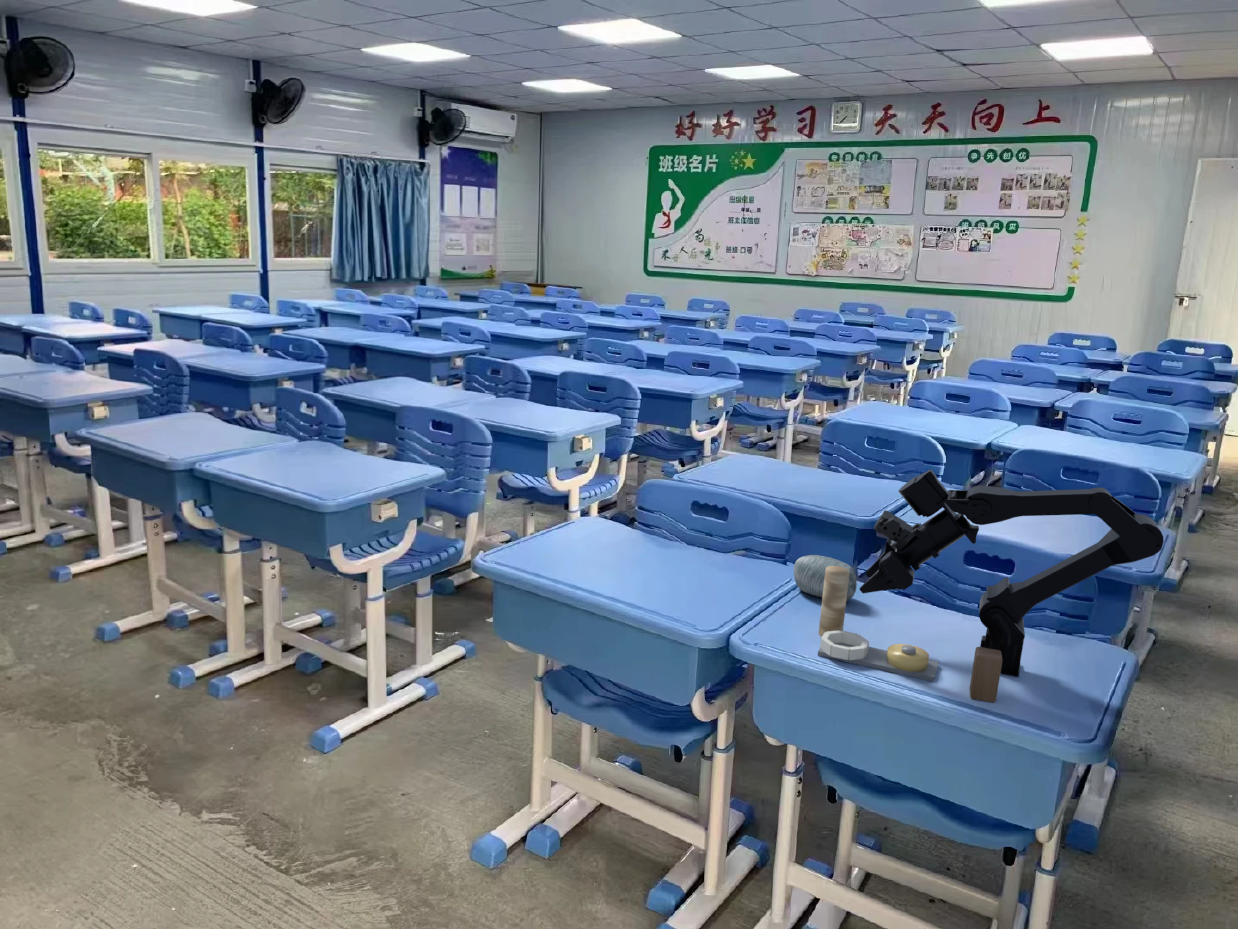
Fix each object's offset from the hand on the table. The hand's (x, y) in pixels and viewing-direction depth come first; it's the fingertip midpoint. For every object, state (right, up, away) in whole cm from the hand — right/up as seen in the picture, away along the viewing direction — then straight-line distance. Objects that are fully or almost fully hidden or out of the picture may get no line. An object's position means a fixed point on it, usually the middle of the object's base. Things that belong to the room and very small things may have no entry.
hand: (863, 583), depth 175 cm
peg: (-5, -10, +4) cm, 12 cm away
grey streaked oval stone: (-2, -6, +25) cm, 25 cm away
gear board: (+1, -13, -6) cm, 14 cm away
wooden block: (+15, -17, -17) cm, 29 cm away
